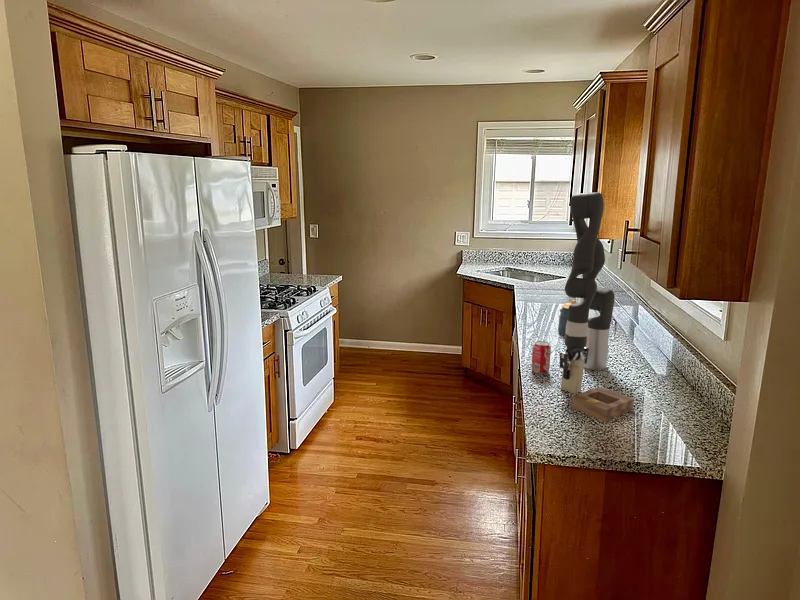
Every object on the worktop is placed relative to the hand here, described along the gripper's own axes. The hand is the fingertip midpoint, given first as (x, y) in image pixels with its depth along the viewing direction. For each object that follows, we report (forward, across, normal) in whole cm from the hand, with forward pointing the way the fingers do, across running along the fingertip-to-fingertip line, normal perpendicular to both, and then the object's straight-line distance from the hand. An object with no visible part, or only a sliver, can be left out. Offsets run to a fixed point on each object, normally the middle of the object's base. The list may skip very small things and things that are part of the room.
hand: (572, 377), depth 195 cm
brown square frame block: (+5, +5, +16) cm, 18 cm away
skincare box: (+5, 0, 0) cm, 5 cm away
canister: (+5, -65, -48) cm, 81 cm away
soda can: (+5, -6, -20) cm, 21 cm away
